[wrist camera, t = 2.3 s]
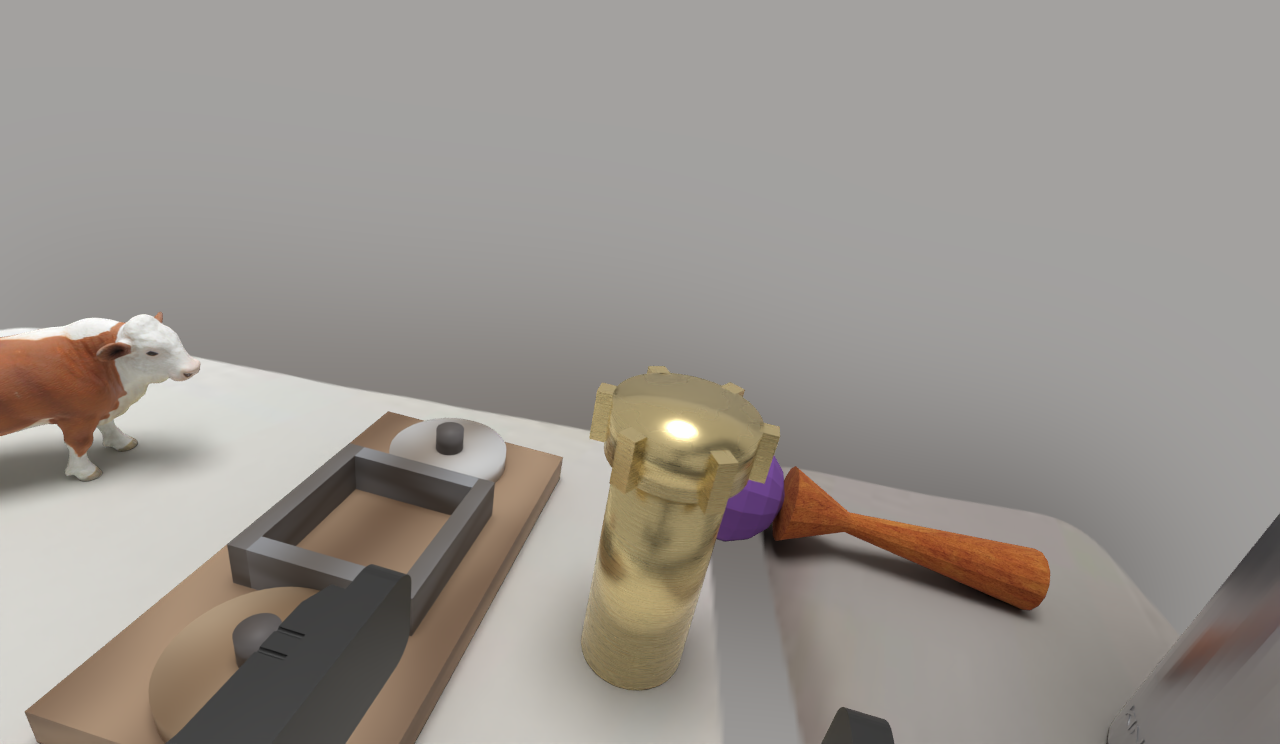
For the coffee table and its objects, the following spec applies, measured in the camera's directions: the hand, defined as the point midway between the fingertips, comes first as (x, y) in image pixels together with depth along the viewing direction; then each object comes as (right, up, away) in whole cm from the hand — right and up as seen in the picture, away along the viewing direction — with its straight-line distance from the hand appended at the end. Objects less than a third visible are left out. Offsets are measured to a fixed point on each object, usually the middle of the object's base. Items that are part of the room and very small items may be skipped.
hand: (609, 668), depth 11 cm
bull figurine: (-28, 0, +19) cm, 34 cm away
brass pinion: (0, -7, +16) cm, 17 cm away
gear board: (-11, -4, +17) cm, 21 cm away
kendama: (+12, -5, +24) cm, 27 cm away
